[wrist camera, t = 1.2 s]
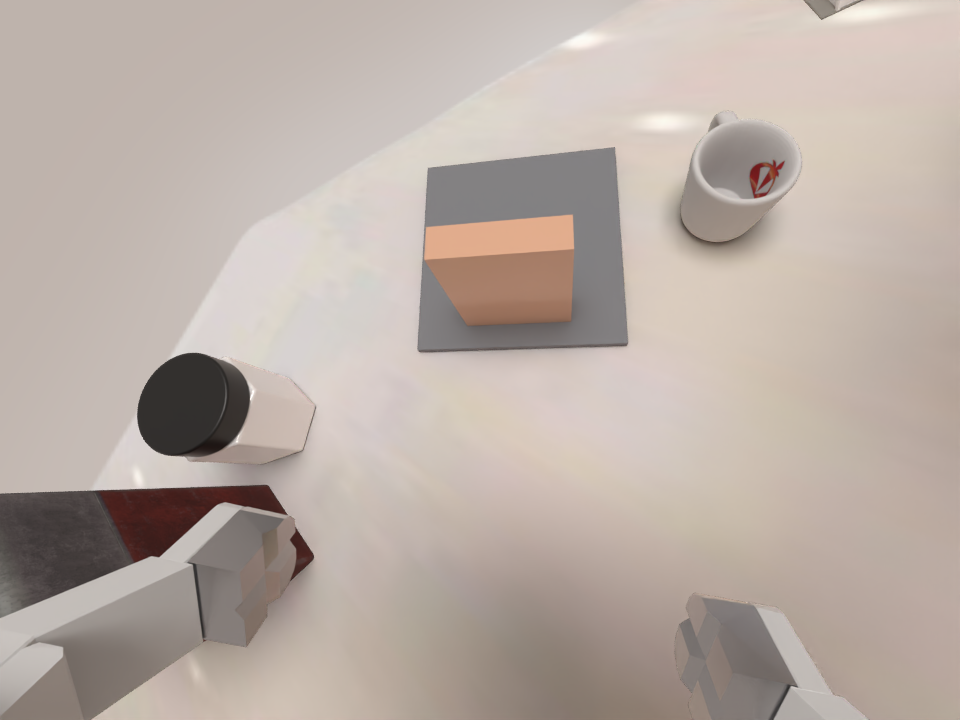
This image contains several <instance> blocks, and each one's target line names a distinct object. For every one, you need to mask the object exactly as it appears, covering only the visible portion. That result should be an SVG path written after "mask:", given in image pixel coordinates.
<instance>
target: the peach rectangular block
mask: <svg viewBox="0 0 960 720" xmlns="http://www.w3.org/2000/svg"><path fill="white" fill-rule="evenodd" d="M424 260H425V262H426V263H427V265H428V266H429V268H430V269H431V271H432V272H433V274H434V276H435V277H436V279H437V280H438V282H439V283H440V285H441V286H442V288H443V289H444V291H445V292H446V294H447V295H448V297H449V298H450V300H451V302H452V303H453V305H454V306H455V308H456V309H457V311H458V312H459V314H460V315H461V317H462V318H463V320H464V321H465V323H466V324H467V326H479V325H503V324H526V323H550V322H571V313H572V289H573V264H574V232H573V215H562V216H550V217H538V218H527V219H515V220H503V221H491V222H480V223H468V224H456V225H445V226H433V227H426V238H425V255H424Z"/></svg>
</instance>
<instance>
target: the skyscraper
mask: <svg viewBox="0 0 960 720" xmlns="http://www.w3.org/2000/svg"><path fill="white" fill-rule="evenodd" d="M804 1H805V2H806V3H807V4H808V6H809V7H810V8H811V9H812V10H813V11H814V12H815V13H816V14H817V15H818V16H819V18H820V19H821V20H822V19H824V18H826V17H828V16H830V15H833V14H835V13H837V12H839V11H841V10H843V9H845V8H848V7H850V6H852V5H854V4H856V3H858V2H860V1H862V0H804Z"/></svg>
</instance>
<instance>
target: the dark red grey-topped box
mask: <svg viewBox="0 0 960 720" xmlns="http://www.w3.org/2000/svg"><path fill="white" fill-rule="evenodd" d="M224 502H226V503H231V504H235V505H239V506H244V507H251V508H256V509H261V510H265V511H270V512H274V513H279V514H283V515H287V514H286V512H285V510H284V509H283V507H282V506H281V504H280V503H279V501H278V500H277V498H276V497H275V495H274V494H273V492H272V491H271V489H270V488H269V486H267V485H252V486H221V487H191V488H160V489H129V490H99V491H68V492H38V493H10V494H9V493H7V494H0V618H2V617H4V616H7V615H9V614H12V613H14V612H17V611H19V610H21V609H24V608H26V607H29V606H31V605H34V604H36V603H39V602H41V601H43V600H46V599H48V598H51V597H53V596H56V595H58V594H61V593H63V592H65V591H68V590H70V589H73V588H75V587H78V586H80V585H83V584H85V583H87V582H90V581H92V580H95V579H97V578H100V577H102V576H105V575H107V574H109V573H112V572H114V571H117V570H119V569H122V568H124V567H127V566H129V565H131V564H134V563H136V562H139V561H141V560H144V559H146V558H149V557H151V556H153V557H160V556H161V555H162V554H163V553H165V552H166V551H167V550H168V549H169V548H170V547H171V546H172V545H173V544H175V543H176V542H177V541H178V540H179V539H180V538H181V537H182V536H183V535H184V534H186V533H187V532H188V531H189V530H190V529H191V528H192V527H193V526H194V525H195V524H197V523H198V522H199V521H200V520H201V519H202V518H203V517H204V516H205V515H206V514H208V513H209V512H210V511H211V510H212V509H213V508H214V507H215V506H217V505H218V504H221V503H224ZM295 531H296V532H295V533H294V535H293V536H292V537H291V539H290V541H291V543H292V544H293V545H294V547H295V548H296V563H295V568H294V572H293V574H292V577H291V579H290V581H291V580H292V579H293V578H294V577H295V576H296V575H297V574H298V573H299V572H300V571H301V570H302V569H304V568H305V567H306V566H307V565H308V564H309V563H310V562H311V561H312V560H313V558H314V555H313V553H312V552H311V550H310V549H309V547H308V546H307V544H306V543H305V541H304V539H303V538H302V536H301V535H300V533H299V532H298V530H297V529H296V527H295ZM204 641H206V640H204V639H203V642H204Z"/></svg>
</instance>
